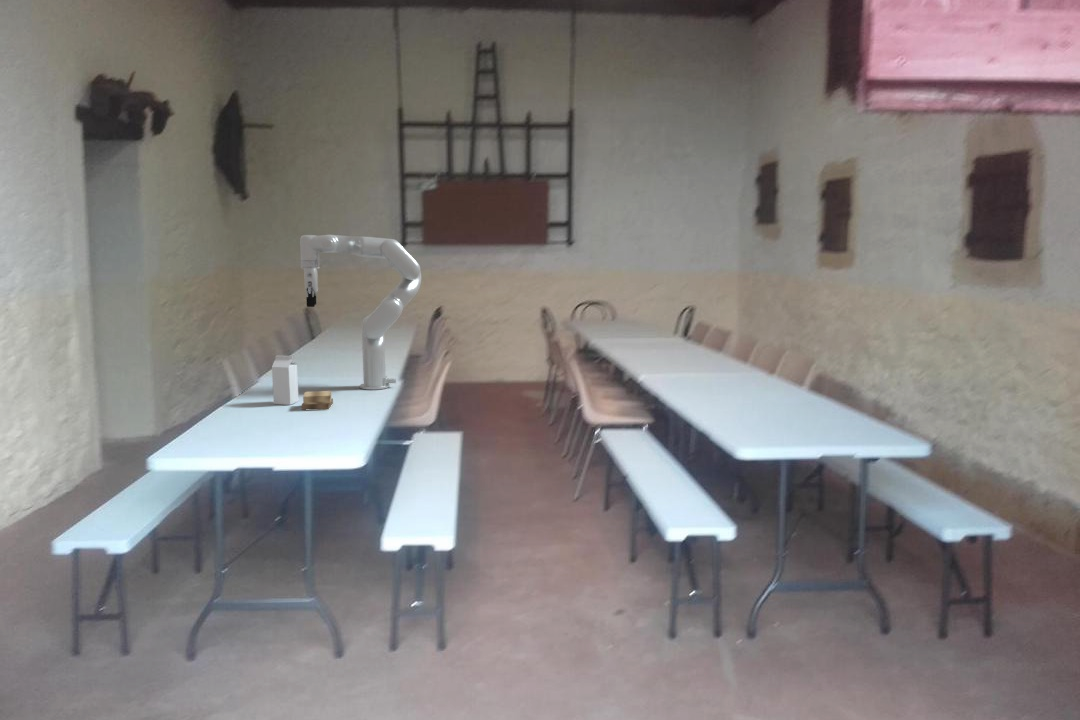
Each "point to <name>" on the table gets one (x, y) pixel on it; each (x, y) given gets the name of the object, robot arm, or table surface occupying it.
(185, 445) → the table surface
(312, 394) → the top slab
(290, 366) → the milk carton
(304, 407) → the bottom slab
